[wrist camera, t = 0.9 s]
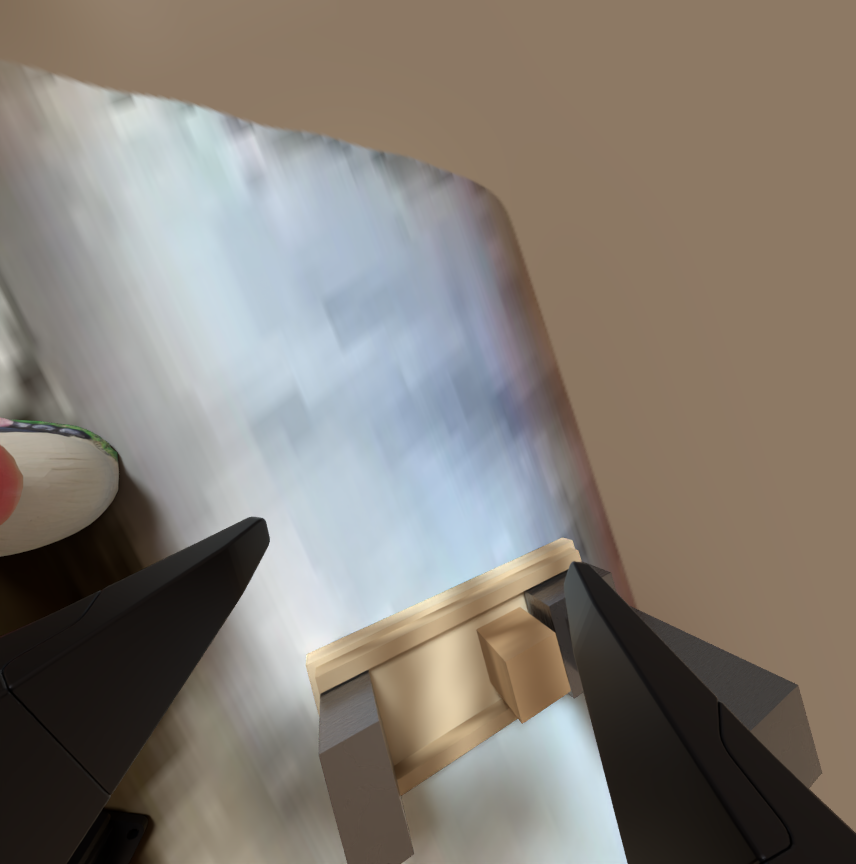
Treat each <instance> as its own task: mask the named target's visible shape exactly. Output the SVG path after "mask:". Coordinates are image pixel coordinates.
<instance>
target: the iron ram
mask: <svg viewBox="0 0 856 864" xmlns="http://www.w3.org/2000/svg"><path fill="white" fill-rule="evenodd" d="M581 562H582V561H581ZM583 563H585V562H583ZM589 565H590V564H589ZM590 566H591V567H592V568H593V569H594V570H595V571H596V572H597V573H598V574H599V575H600V576H601V577H602V578H603V579H604V580H605V581H606V582H607V583H608V584H609V585H610V586H611V587H612V588H613V590H614V591H615V592H616V589H615V585H614V581H613V578H612V574H611V572H608V571H605V570H603V569H600V568H598V567H595V566H592V565H590ZM567 572H568V569H567V570H565V571H563V572H561V573H559V574H557V575H555V576H553V577H551V578H549V579H547V580H545V581H543V582H541V583H539V584H537V585H535V586H533V587H531V588H529V589H527V590H525V591H523V592H524V595H525V599H526V603H527V606H528V610H529V614H530V615H532V616H533V617H534V618H536V619H537V620H539V621H540V622H541V623H543V624H544V625H545V626H547V627H548V628H549V629H551V630H552V631H553V632H555V633H556V637H557V641H558V645H559V648H560V652H561V656H562V659H563V663H564V667H565V671H566V674H567V678H568V682H569V685H570V689H571V691H570V692H569V693H568V694H569V695H571V696H572V697H573V698H575V697H577V696H578V695H580V694H581V693H583V692H584V691H583V687H582V683H581V680H580V676H579V672H578V668H577V664H576V660H575V656H574V651H573V646H572V640H571V633H570V626H569V620H568V613H567V606H566V600H565V593H564V582H565V579H566V575H567ZM616 593H617V592H616ZM630 607H631V606H630ZM631 608H632V609H633V610H634V611H635V612H636V613H637V614H638V616H639V617H640V618H641V619H642V620H643V621H644V622H645V623H646V624H647V625H648V626H649V627H650V628H651V629H652V630H653V631H654V632H655V633H656V634H657V635H658V636H659V637H660V638H661V639H662V640H663V641H664V643H665V644H666V645H667V646H668V647H669V648H670V649H671V650H672V651H673V652H674V653H675V654H676V655H677V656H678V657H679V658H680V659H681V660H682V661H683V662H684V663H685V664H686V665H687V666H688V667H689V669H690V670H691V671H692V672H693V673H694V674H695V675H696V676H697V677H698V678H699V679H700V680H701V681H702V682H703V683H704V684H705V685H706V686H707V687H708V688H709V689H710V690H711V691H712V692H713V693H714V694H715V696H716V697H717V698H718V701H721V702H722V703H723V704H724V705H725V706H726V707H727V708H728V709H729V710H730V711H731V712H732V713H733V714H734V715H735V716H736V717H737V718H738V719H739V720H740V721H741V722H742V723H743V724H744V725H745V726H746V727H747V728H748V729H749V730H750V731H751V732H752V733H753V734H754V735H755V736H756V738H757V739H758V740H759V741H760V742H761V743H762V744H763V745H764V746H765V747H766V748H767V749H768V750H769V751H770V752H771V753H772V754H773V755H774V756H775V757H776V758H777V759H778V760H780V761H781V762H782V763H783V764H784V765H785V766H786V767H787V768H788V769H789V770H790V771H791V772H792V773H793V774H794V775H795V776H796V777H797V778H798V779H799V780H800V781H801V782H802V783H803V784H804V785H806V786H807V787H808V788H810V787H811V785H812V784H813V783H814V782H815V781H816V779H817V778H818V777H819V776H820V775H821V773H822V770H821V767H820V763H819V759H818V756H817V752H816V749H815V745H814V741H813V738H812V734H811V730H810V727H809V723H808V720H807V716H806V712H805V709H804V705H803V701H802V698H801V694H800V690H799V687H798V685H797V684H795V683H792V682H790V681H788V680H786V679H784V678H782V677H780V676H777V675H775V674H773V673H771V672H769V671H767V670H765V669H763V668H761V667H758V666H756V665H754V664H752V663H750V662H748V661H746V660H743V659H741V658H739V657H737V656H735V655H733V654H731V653H729V652H726V651H724V650H722V649H720V648H718V647H716V646H714V645H712V644H709V643H707V642H705V641H703V640H701V639H699V638H697V637H695V636H692V635H690V634H688V633H686V632H684V631H682V630H680V629H678V628H675V627H673V626H671V625H669V624H667V623H665V622H663V621H661V620H659V619H656V618H654V617H652V616H650V615H648V614H646V613H643V612H642V611H639V610H637V609H635V608H633V607H631Z"/></svg>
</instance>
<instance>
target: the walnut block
mask: <svg viewBox="0 0 856 864" xmlns="http://www.w3.org/2000/svg"><path fill="white" fill-rule="evenodd" d="M476 630H477V634H478V638H479V642H480V645H481V649H482V653H483V657H484V660H485V664H486V668H487V672H488V675H489V679H490V682H491V683H492V685H493V686H494V687H495V689H496V690H497V691H498V693H499V694H500V695H501V696H502V698H503V699H504V700H505V702H506V703H507V704H508V706H509V707H510V708H511V710H512V711H513V712H514V714H515V715H516V716H517V718H518V719H519V720H520V722H521V723H522V724H523V723H524V722H526V721H527V720H529V719H530V718H532V717H533V716H535V715H536V714H538V713H539V712H541V711H542V710H544V709H545V708H547V707H548V706H550V705H551V704H553V703H554V702H556V701H557V700H558V699H560V698H561V697H563V696H564V695H566V694H567V693H569V692H570V691H571V689H570V685H569V682H568V678H567V674H566V671H565V667H564V663H563V659H562V656H561V652H560V648H559V645H558V641H557V637H556V633H555V632H553V631H552V630H551V629H549V628H548V627H547V626H545V625H544V624H543V623H541V622H540V621H539V620H537V619H536V618H534V617H533V616H532V615H530V614H529V613H528V612H526V611H525V610H524V609H522V608H521V607H518V608H517V609H515V610H513V611H511V612H509V613H507V614H505V615H503V616H501V617H499V618H497V619H495V620H493V621H492V622H490V623H488V624H486V625H484V626H482V627H480V628H478V629H476Z"/></svg>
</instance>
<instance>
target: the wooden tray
mask: <svg viewBox="0 0 856 864" xmlns="http://www.w3.org/2000/svg"><path fill="white" fill-rule="evenodd" d="M573 561H576V562H581V558H580V555H579V551H578V550H576V549H575V548H574V544H573V541H572V540H569V539H566V538H560V539H558V540H556V541H554V542H552V543H549V544H547V545H545V546H543V547H541V548H538V549H536V550H534V551H532V552H530V553H527V554H525V555H523V556H521V557H519V558H517V559H514V560H512V561H510V562H508V563H506V564H503V565H501V566H499V567H497V568H495V569H492V570H490V571H488V572H486V573H484V574H481V575H479V576H477V577H475V578H473V579H470V580H468V581H466V582H464V583H462V584H460V585H457V586H455V587H453V588H451V589H449V590H446V591H444V592H442V593H440V594H438V595H435V596H433V597H431V598H429V599H427V600H424V601H422V602H420V603H418V604H416V605H414V606H411V607H409V608H407V609H405V610H403V611H400V612H398V613H396V614H394V615H392V616H389V617H387V618H385V619H383V620H381V621H378V622H376V623H374V624H372V625H370V626H368V627H365V628H363V629H361V630H359V631H357V632H354V633H352V634H350V635H348V636H346V637H343V638H341V639H339V640H337V641H335V642H332V643H330V644H328V645H326V646H324V647H322V648H319V649H317V650H315V651H313V652H311V653H308V654H307V657H306V668H307V672H308V676H309V680H310V683H311V687H312V691H313V695H314V699H315V702H316V706H317V710H318V714H319V716H320V694H321V693H323V692H325V691H327V690H329V689H331V688H333V687H335V686H337V685H339V684H341V683H342V682H344V681H346V680H348V679H350V678H352V677H354V676H356V675H358V674H360V673H362V672H364V671H366V670H369V673H370V677H371V681H372V685H373V688H374V692H375V696H376V700H377V704H378V707H379V711H380V715H381V719H382V722H383V726H384V730H385V734H386V738H387V741H388V745H389V749H390V753H391V757H392V760H393V764H394V768H395V773H396V777H397V781H398V786H399V790H400V795H401V796H402V795H403V794H405V793H406V792H408V791H409V790H411V789H412V788H414V787H415V786H417V785H418V784H420V783H421V782H423V781H424V780H426V779H427V778H429V777H430V776H432V775H433V774H435V773H436V772H438V771H439V770H441V769H442V768H444V767H445V766H447V765H448V764H450V763H451V762H453V761H454V760H456V759H457V758H459V757H461V756H462V755H464V754H465V753H467V752H468V751H470V750H471V749H473V748H474V747H476V746H477V745H479V744H480V743H482V742H483V741H485V740H486V739H488V738H489V737H491V736H492V735H494V734H495V733H497V732H498V731H500V730H501V729H503V728H504V727H506V726H507V725H509V724H510V723H512V722H513V721H515V720H516V719H518V718H517V716H516V715H515V714H514V712H513V711H512V710H511V708H510V707H509V706H508V704H507V703H506V702H505V700H504V699H503V698H502V696H501V695H500V694H499V693H498V691H497V690H496V689H495V687H494V686H493V685H492V683H491V682H490V679H489V675H488V672H487V668H486V664H485V660H484V657H483V653H482V649H481V645H480V642H479V638H478V634H477V630H476V629H478V628H480V627H482V626H484V625H486V624H488V623H490V622H492V621H493V620H495V619H497V618H499V617H501V616H503V615H505V614H507V613H509V612H511V611H513V610H515V609H517V608H518V607H521V608H522V609H524V610H525V611H526V612H528V613H529V610H528V606H527V603H526V599H525V595H524V592H523V591H525V590H527V589H529V588H531V587H533V586H535V585H537V584H539V583H541V582H543V581H545V580H547V579H549V578H551V577H553V576H555V575H557V574H559V573H561V572H563V571H565V570H567V569H569V566H570V564H571V562H573Z"/></svg>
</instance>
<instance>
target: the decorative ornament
mask: <svg viewBox="0 0 856 864" xmlns="http://www.w3.org/2000/svg"><path fill="white" fill-rule="evenodd" d="M118 482H119V468H118V458H117V452H116V451H114V450H113V449H112V448H111V447H110V445H109V443H107V442H106V441H105V440H104V439H102V438H101V437H100V436H98V435H96V434H94V433H93V432H91V431H89V430H86V429H83V428H80V427H77V426H73V425H65V424H57V423H50V422H42V421H27V420H11V419H4V418H0V557H1V556H7V555H12V554H17V553H21V552H25V551H29V550H33V549H36V548H39V547H42V546H45V545H48V544H51V543H53V542H56V541H59V540H61V539H63V538H66V537H68V536H70V535H72V534H75V533H76V532H78V531H80V530H81V529H83V528H85V527H86V526H88V525H90V524H91V523H92V522H93V521H95V520H96V519H97V518H98V517H99V516H100V515H101V514H102V513H103V512H104V511H105V510H106V509H107V508H108V506H109V505H110V504H111V502H112V501H113V500H114V498H115V496H116V494H117V492H118Z"/></svg>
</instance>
